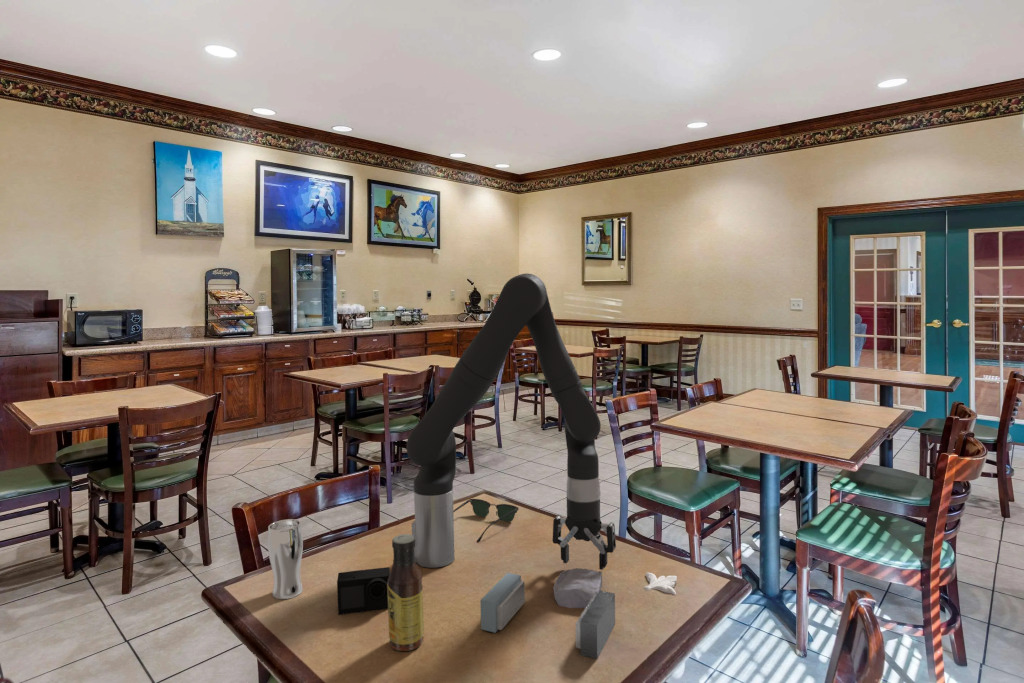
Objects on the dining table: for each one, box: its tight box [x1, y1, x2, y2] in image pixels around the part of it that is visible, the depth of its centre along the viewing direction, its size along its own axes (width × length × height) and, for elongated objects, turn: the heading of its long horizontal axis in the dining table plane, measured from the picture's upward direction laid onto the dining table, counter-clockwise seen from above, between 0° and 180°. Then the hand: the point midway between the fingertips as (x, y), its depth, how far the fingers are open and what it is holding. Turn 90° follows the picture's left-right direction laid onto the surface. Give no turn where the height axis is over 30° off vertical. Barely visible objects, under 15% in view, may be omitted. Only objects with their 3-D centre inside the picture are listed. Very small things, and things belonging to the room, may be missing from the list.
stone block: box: [552, 567, 603, 609], centre depth 123 cm, size 12×5×10 cm
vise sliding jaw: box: [479, 572, 526, 634], centre depth 114 cm, size 4×12×6 cm, turn 155°
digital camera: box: [336, 566, 391, 616], centre depth 118 cm, size 10×5×7 cm, turn 102°
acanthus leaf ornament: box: [643, 572, 678, 596], centre depth 126 cm, size 8×7×2 cm
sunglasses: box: [453, 498, 519, 542], centre depth 161 cm, size 16×17×5 cm
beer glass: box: [267, 518, 304, 600], centre depth 125 cm, size 7×7×15 cm
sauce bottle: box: [387, 533, 425, 652], centre depth 105 cm, size 6×6×20 cm
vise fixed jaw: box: [575, 590, 616, 660], centre depth 106 cm, size 4×12×6 cm, turn 155°
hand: (584, 565), depth 133 cm, fingers open, 8 cm apart
